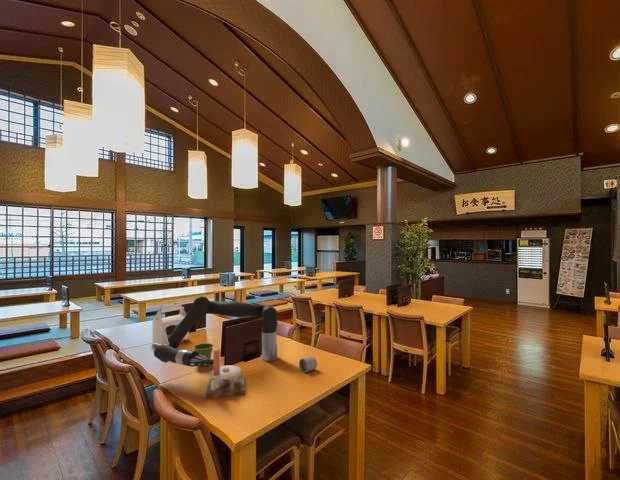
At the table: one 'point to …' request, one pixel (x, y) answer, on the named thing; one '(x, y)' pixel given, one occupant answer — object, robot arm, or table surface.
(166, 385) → the table surface
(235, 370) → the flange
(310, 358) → the ceramic mug
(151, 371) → the table surface
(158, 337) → the gable box
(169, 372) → the table surface
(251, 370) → the table surface
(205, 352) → the plant pot
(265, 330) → the robot arm
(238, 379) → the post base
